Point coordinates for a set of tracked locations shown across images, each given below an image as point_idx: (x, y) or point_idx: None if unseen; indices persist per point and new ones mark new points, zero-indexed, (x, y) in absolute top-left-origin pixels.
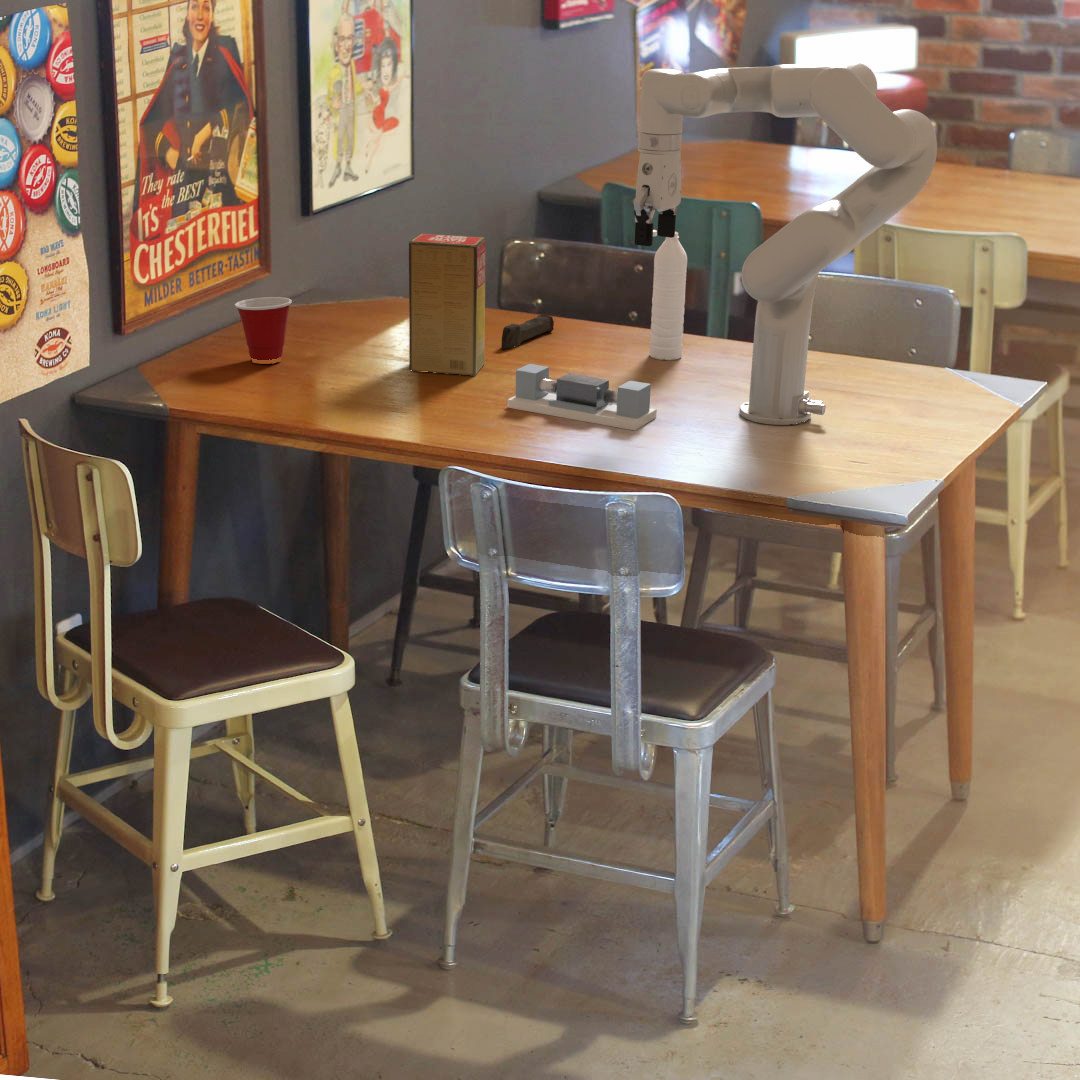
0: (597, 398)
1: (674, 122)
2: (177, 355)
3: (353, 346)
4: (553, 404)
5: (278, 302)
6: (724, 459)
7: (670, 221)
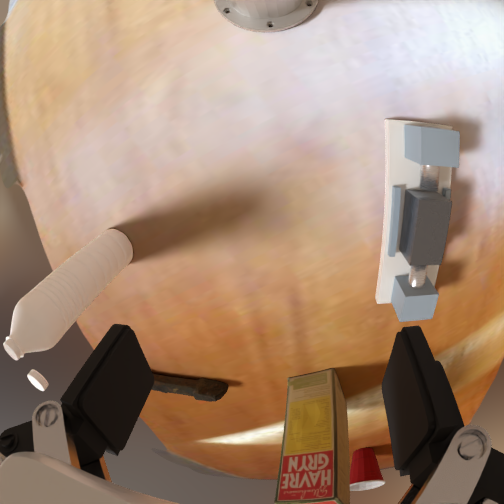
0: (441, 195)
1: None
2: None
3: None
4: None
5: None
6: (464, 6)
7: (102, 393)
